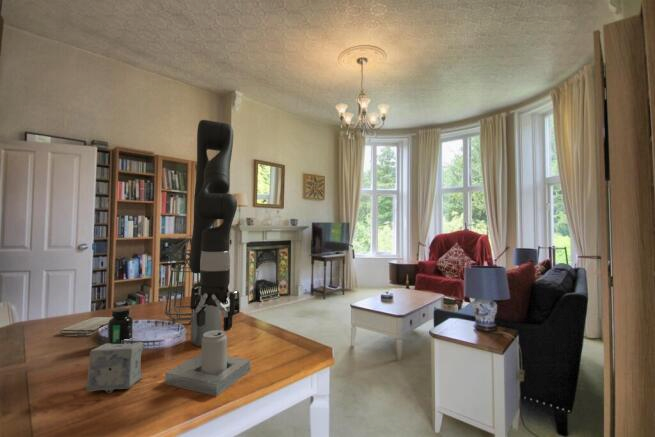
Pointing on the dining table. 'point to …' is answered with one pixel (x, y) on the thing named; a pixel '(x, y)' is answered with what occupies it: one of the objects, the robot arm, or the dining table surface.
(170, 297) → the geometric lantern
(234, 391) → the dining table surface
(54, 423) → the dining table surface
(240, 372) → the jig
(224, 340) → the beverage can
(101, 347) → the incense holder
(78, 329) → the washcloth
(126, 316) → the supplement bottle
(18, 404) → the dining table surface
